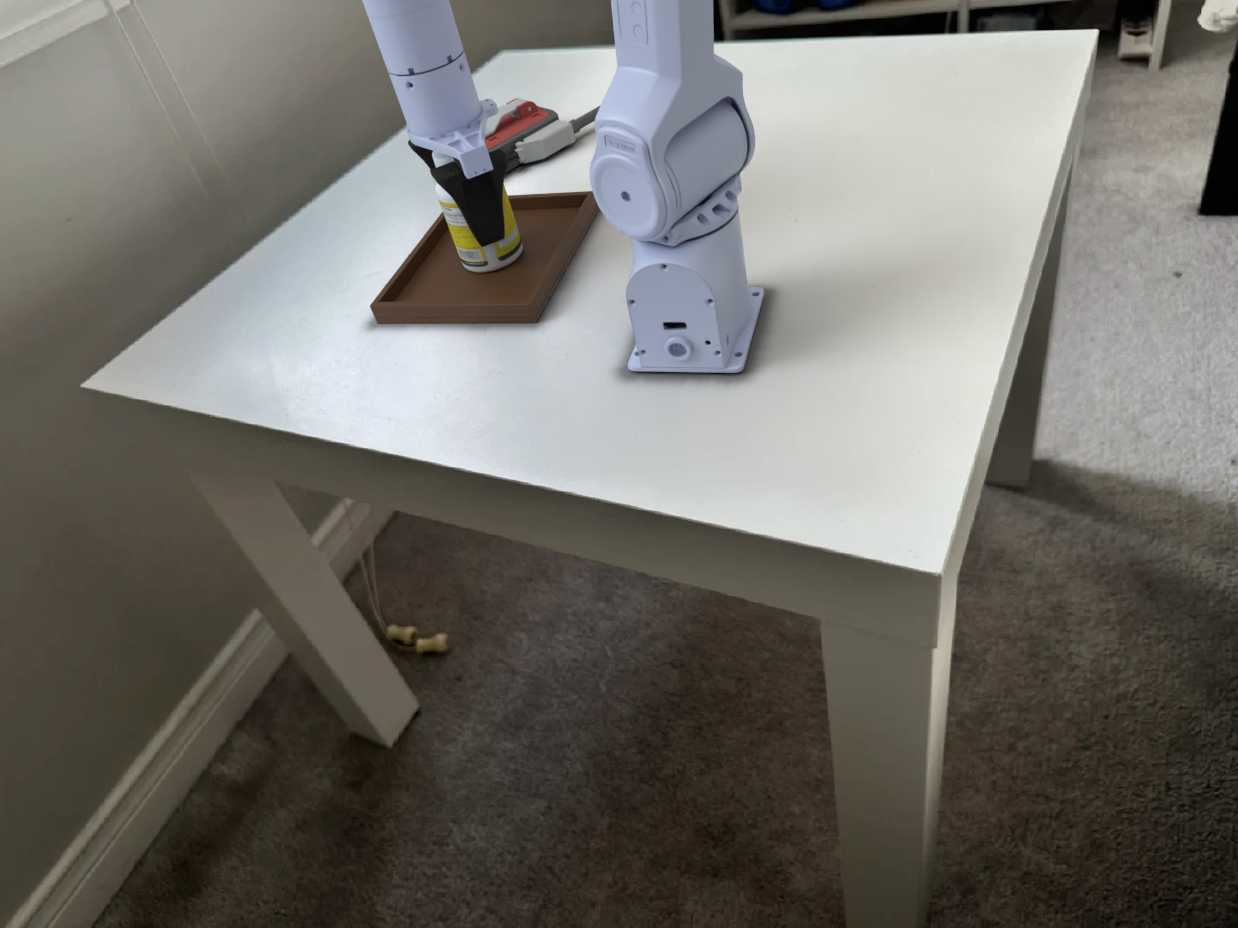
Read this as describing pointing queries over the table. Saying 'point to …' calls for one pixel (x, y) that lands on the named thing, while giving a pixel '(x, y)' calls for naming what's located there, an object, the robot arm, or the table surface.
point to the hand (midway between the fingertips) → (481, 227)
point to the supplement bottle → (463, 238)
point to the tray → (507, 295)
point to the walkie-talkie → (531, 131)
